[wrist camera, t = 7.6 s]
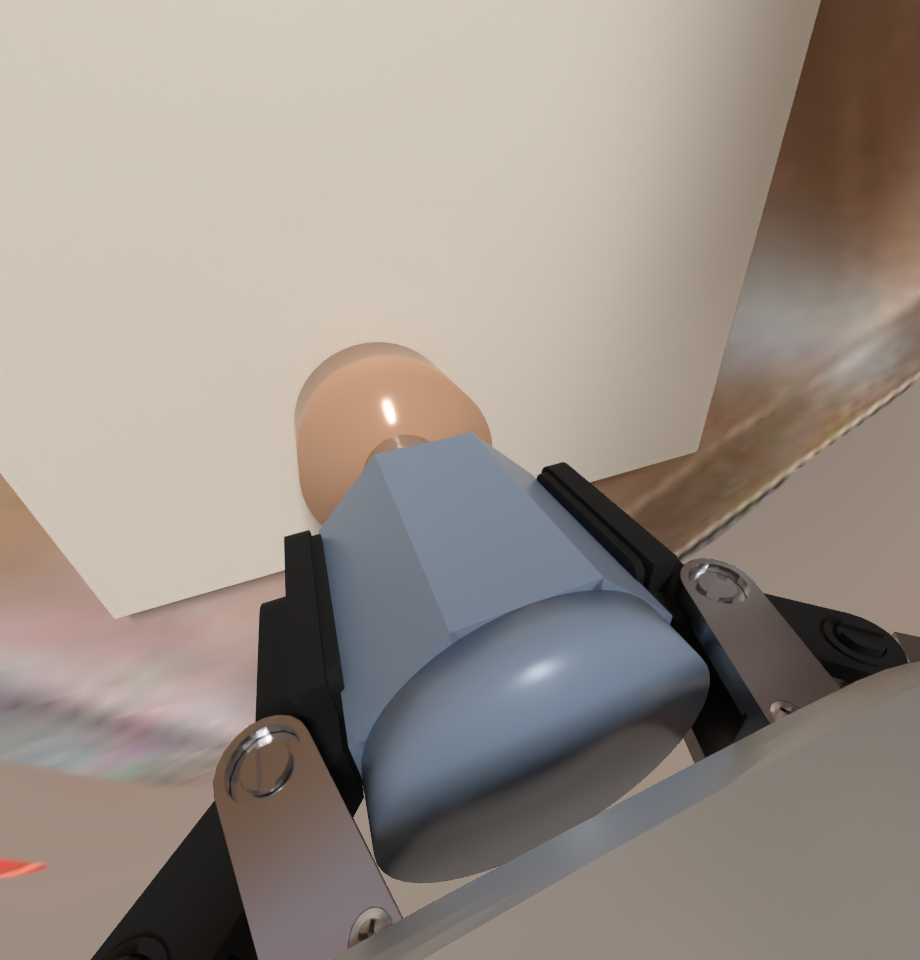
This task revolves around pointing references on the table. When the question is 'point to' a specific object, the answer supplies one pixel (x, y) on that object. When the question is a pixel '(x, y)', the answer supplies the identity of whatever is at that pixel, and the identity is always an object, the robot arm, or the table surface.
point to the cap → (491, 661)
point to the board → (360, 243)
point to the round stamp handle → (372, 416)
